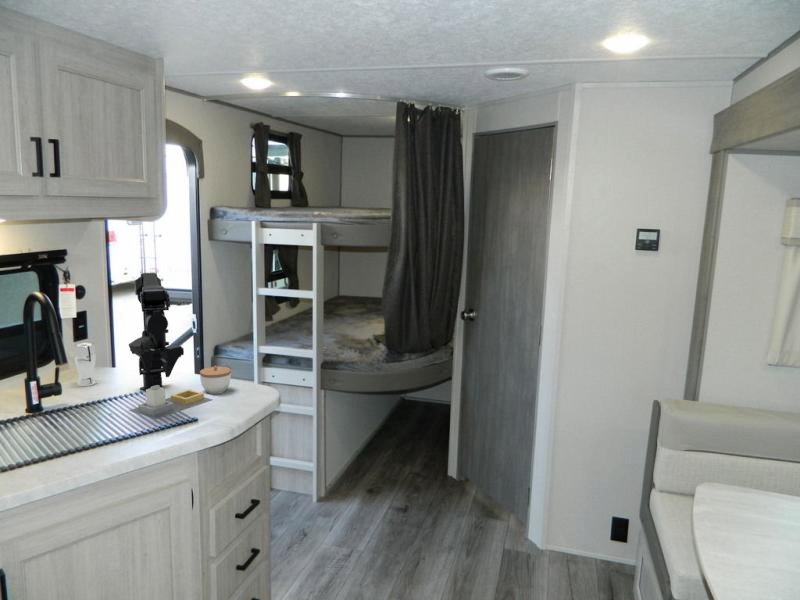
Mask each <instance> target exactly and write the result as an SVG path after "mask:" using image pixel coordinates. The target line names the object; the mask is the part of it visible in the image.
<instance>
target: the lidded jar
mask: <svg viewBox="0 0 800 600" xmlns="http://www.w3.org/2000/svg"><path fill="white" fill-rule="evenodd" d="M199 376H200V383H201V385H202V387H203V389H204V391H206V392H207V393H208V394H211V395H212V394H213V395H216V394H222V393H224V392H225V391H226V389H228V387H229V386H230V383H231V379H232V378H231V377H232V369H231V368H230V367H227V366H226V367H225V366H217V365H214V366H209V367H205V368H203V369H201V370H200V371H199Z"/></svg>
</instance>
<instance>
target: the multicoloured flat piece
mask: <svg viewBox="0 0 800 600" xmlns="http://www.w3.org/2000/svg"><path fill="white" fill-rule="evenodd" d="M211 401H213V399H212V398H209V397H205V394H204V392H199V391H196V390H192V389H186V390H183V391H180V392H177V393H173V394H170V397H167V398H165V405H162V406H159V407H156V408H152V407H148V406H147V402H144V403H141V404H140V403H139V404H138V405H137V406H138V407H135V408H131V409H129V410H128V411H129V412H132V413H136V414H139V415H142V416H145V417H149V418H151V419H155V420H158V419H161V418H164V417H167V416H170V415H174V414H175V413H179V412H182V411H184V410H185V411H186V410H188V409H190V408H194V407H196V406H200V405H203V404H206V403H207V402H211Z"/></svg>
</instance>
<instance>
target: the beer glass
mask: <svg viewBox="0 0 800 600" xmlns="http://www.w3.org/2000/svg"><path fill="white" fill-rule="evenodd" d="M96 357H97V355H96V348H95V343H94V342H93V343H92V342H81V343H77V344H74V345H73V359H74V364H75V368H76V371H77V375H78V376H77V386H78V387H89V386H94V385H96V384H97V381H96V380H97V379H96V376H95V368H96V359H97V358H96Z"/></svg>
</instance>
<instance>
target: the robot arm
mask: <svg viewBox="0 0 800 600" xmlns="http://www.w3.org/2000/svg"><path fill="white" fill-rule="evenodd" d="M157 275H158V273H157V272H156V273H155V272H143V273H140V276H139V277H138V278H137V279H135V280H134V295H135V296H137V300H138V302H139V303H140V307H141V312H142V315H143V316H142V317H143V318H142V319H143V330H142V332H141V336H140V337H137V338H136V339H134V340H133V341H132V342H129V343H128V347H129V351H130V352H131V354H132V355H135V356H136V357H139V358H138V371H139V372H138V373H139V376H141V375H142V379H143V380H142V382H143V386H141V387H139V389H140V390H143V391H145V392H146V389H150V388H151V387H152V386H155V385H159V386H160V388H163V387H164V385H163V377H162V373H163V374H164V375H165V378H169V377H171V374H172V372H173V369H174V368H175V365H176V363H177V362H178V360H179V359H180V358H181V357H182V356H184V354H185V352H184V347H183V346H181V345H176V344H172V345H170V342H169V341H167V340H166V339H167V338H166V337H167V335H166V334H168V333H169V329H167V328H168V326H169V321H168V319H167V317H166V316H165V311H169V310H170V308H171V300H170V299H171V298H170V294H169V293H168V290H165V287H164V286H163V285H162V279H160V278H159V276H157Z"/></svg>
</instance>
